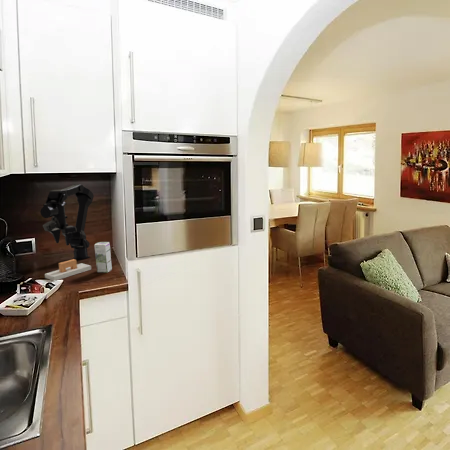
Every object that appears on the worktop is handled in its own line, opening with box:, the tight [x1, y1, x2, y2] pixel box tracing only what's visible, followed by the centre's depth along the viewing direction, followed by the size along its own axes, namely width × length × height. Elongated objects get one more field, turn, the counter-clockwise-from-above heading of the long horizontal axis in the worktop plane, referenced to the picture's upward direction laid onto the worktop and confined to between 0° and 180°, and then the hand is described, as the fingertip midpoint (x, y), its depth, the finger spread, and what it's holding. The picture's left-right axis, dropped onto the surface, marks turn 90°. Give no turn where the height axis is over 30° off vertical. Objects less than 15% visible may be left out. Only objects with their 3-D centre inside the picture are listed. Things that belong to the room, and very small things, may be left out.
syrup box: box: [94, 241, 113, 273], centre depth 185 cm, size 6×6×14 cm
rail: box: [44, 262, 92, 281], centre depth 183 cm, size 20×8×2 cm, turn 145°
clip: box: [58, 258, 78, 273], centre depth 183 cm, size 8×2×6 cm, turn 145°
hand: (62, 244), depth 193 cm, fingers open, 9 cm apart
